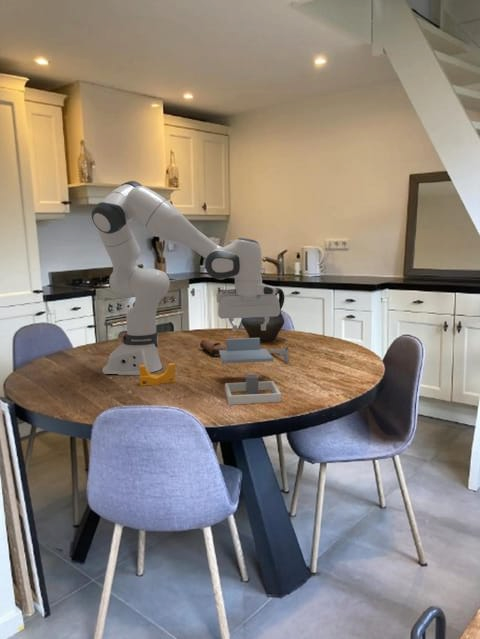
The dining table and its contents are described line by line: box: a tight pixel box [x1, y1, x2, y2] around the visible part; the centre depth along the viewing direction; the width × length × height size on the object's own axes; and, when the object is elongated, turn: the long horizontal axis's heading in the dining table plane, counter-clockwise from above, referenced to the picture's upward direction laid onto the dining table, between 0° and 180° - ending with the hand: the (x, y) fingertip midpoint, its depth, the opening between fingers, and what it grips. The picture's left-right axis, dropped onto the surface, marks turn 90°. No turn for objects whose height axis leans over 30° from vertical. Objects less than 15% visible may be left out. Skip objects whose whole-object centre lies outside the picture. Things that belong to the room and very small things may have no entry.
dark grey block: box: [245, 374, 259, 395], centre depth 162 cm, size 4×4×7 cm
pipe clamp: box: [139, 362, 176, 387], centre depth 179 cm, size 12×4×6 cm, turn 100°
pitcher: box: [240, 287, 285, 343], centre depth 245 cm, size 21×22×25 cm
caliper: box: [268, 346, 290, 364], centre depth 211 cm, size 20×1×6 cm, turn 17°
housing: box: [224, 380, 282, 406], centre depth 162 cm, size 16×14×3 cm
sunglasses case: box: [199, 339, 226, 357], centre depth 225 cm, size 18×7×7 cm
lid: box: [219, 337, 274, 364], centre depth 177 cm, size 17×15×5 cm
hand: (249, 330), depth 169 cm, fingers open, 8 cm apart
